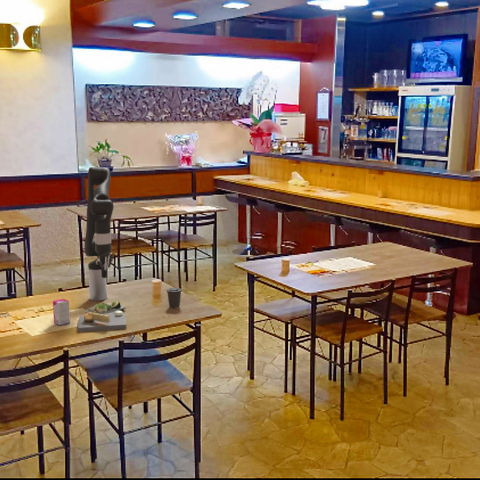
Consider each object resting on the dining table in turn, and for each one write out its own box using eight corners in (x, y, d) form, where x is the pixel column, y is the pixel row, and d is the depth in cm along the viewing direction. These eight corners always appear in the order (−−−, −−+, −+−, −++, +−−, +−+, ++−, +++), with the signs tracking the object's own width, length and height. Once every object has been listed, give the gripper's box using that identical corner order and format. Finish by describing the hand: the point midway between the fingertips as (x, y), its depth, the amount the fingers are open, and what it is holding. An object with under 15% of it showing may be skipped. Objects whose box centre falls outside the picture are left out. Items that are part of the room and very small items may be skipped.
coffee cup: (179, 309, 318) (179, 291, 316) (164, 308, 319) (164, 290, 317) (184, 305, 326) (183, 286, 324) (169, 304, 327) (169, 286, 325)
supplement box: (70, 323, 296) (69, 300, 294) (59, 326, 292) (58, 303, 290) (64, 320, 300) (63, 298, 298) (53, 323, 296) (52, 300, 294)
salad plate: (107, 320, 302) (106, 311, 301) (78, 315, 309) (77, 306, 308) (129, 309, 319) (129, 301, 318) (101, 305, 326) (101, 296, 326)
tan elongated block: (89, 318, 297) (88, 310, 296) (112, 322, 290) (111, 314, 289) (81, 321, 293) (81, 313, 292) (105, 325, 286) (104, 317, 285)
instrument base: (79, 319, 302) (79, 312, 301) (124, 316, 306) (124, 309, 306) (78, 332, 284) (77, 324, 284) (126, 328, 289) (126, 321, 288)
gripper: (104, 238, 297) (105, 273, 300) (88, 244, 285) (89, 280, 288) (117, 239, 294) (118, 274, 298) (102, 245, 282) (103, 281, 286)
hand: (104, 277), depth 293 cm, fingers closed
